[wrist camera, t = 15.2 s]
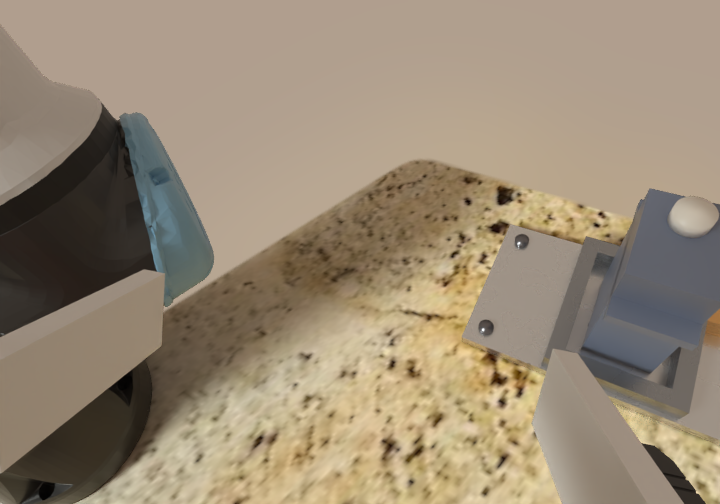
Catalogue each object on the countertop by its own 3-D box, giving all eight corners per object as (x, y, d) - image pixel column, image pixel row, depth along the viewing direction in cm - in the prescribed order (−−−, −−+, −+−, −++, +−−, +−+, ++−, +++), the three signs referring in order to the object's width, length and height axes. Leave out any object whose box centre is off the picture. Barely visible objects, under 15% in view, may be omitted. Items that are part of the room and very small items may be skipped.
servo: (576, 364, 36) (623, 285, 25) (606, 266, 39) (660, 160, 28) (645, 391, 34) (730, 318, 23) (671, 286, 37) (754, 180, 27)
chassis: (461, 341, 39) (461, 328, 37) (509, 230, 44) (512, 212, 42) (781, 470, 31) (806, 464, 28) (798, 315, 35) (821, 298, 33)
